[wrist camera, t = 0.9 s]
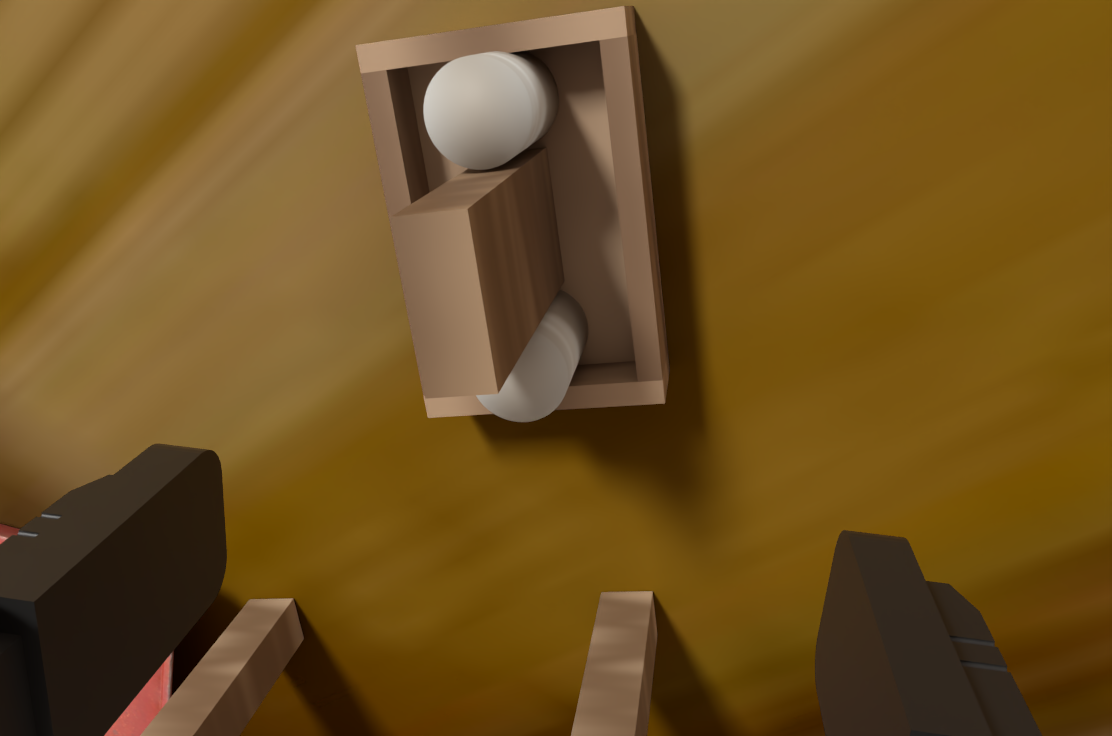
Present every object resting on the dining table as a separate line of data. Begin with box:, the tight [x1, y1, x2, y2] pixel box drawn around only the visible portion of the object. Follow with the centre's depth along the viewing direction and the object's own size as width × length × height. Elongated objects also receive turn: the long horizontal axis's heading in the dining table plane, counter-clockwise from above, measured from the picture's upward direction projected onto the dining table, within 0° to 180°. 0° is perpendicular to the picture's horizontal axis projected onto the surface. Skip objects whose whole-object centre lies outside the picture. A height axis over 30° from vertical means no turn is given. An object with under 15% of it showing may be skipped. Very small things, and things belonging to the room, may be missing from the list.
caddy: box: [355, 6, 670, 422], centre depth 27 cm, size 8×12×11 cm, turn 8°
